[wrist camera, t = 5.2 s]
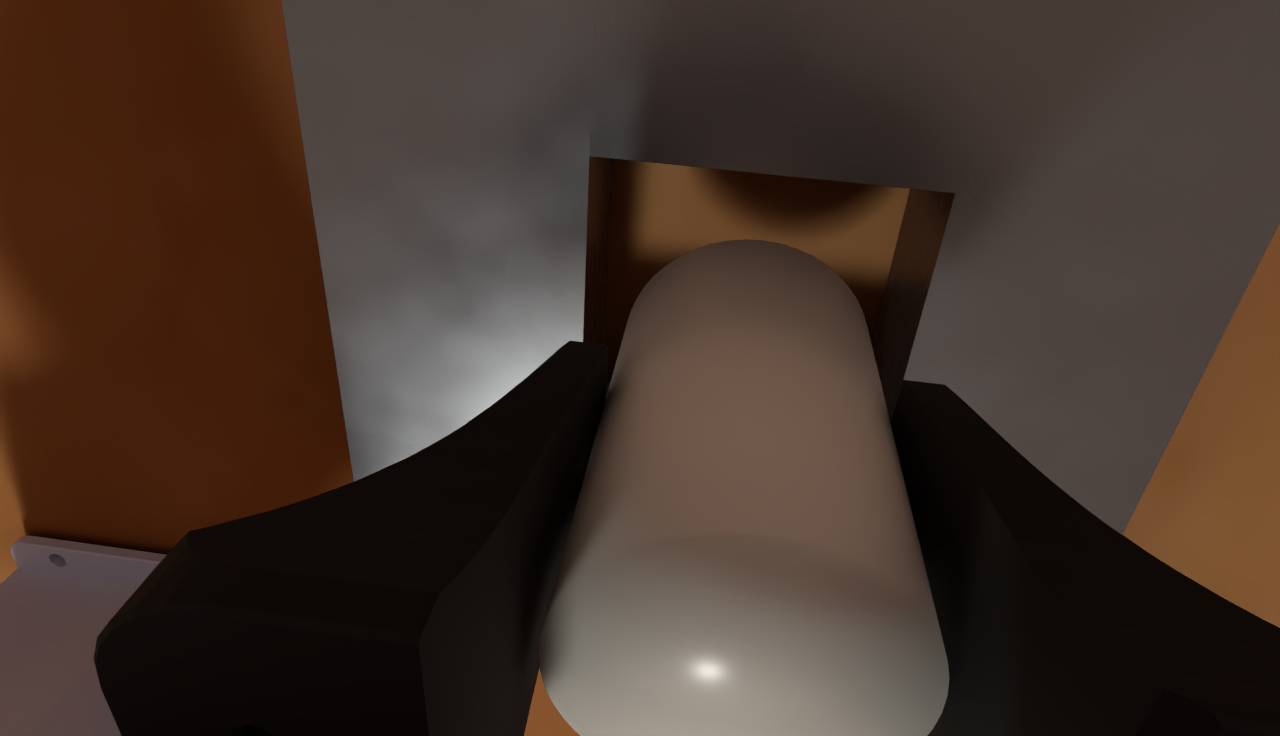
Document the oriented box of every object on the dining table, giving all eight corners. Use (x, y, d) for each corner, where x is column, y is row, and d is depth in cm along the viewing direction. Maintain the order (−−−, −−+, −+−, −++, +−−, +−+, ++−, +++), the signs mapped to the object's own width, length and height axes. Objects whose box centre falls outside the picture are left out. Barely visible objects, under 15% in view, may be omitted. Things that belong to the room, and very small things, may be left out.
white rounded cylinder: (617, 432, 16) (537, 766, 10) (632, 225, 14) (538, 505, 8) (841, 461, 16) (892, 822, 10) (895, 255, 13) (1007, 568, 7)
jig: (410, 476, 21) (364, 556, 19) (347, -145, 14) (258, -152, 12) (1023, 555, 20) (1063, 651, 18) (1292, -71, 13) (1422, -61, 11)
